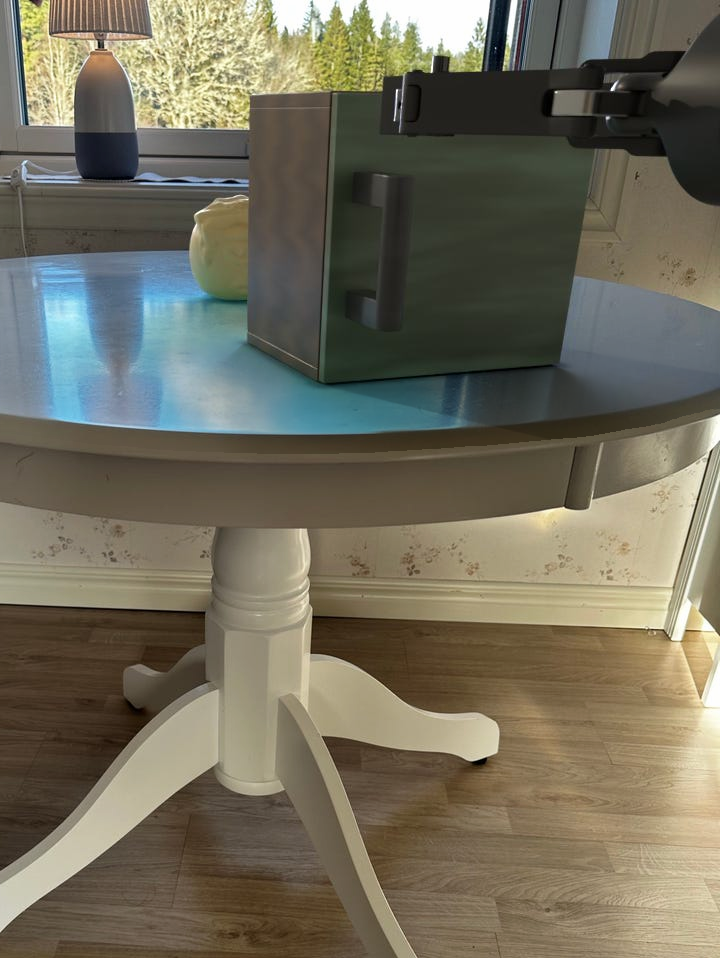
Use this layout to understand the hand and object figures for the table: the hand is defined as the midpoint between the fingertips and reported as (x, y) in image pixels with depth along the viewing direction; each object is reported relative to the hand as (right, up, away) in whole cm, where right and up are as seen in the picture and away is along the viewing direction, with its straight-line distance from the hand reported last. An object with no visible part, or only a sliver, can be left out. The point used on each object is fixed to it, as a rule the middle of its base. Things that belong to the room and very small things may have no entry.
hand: (495, 108), depth 53 cm
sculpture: (-14, +10, +58) cm, 60 cm away
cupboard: (-1, -4, +32) cm, 32 cm away
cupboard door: (+3, -9, +22) cm, 24 cm away
